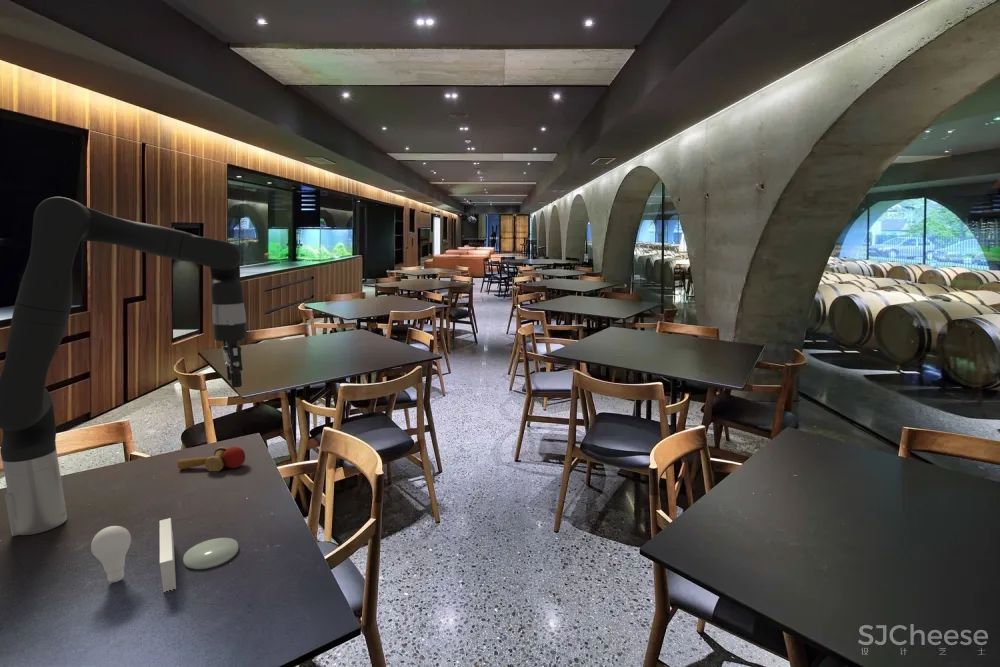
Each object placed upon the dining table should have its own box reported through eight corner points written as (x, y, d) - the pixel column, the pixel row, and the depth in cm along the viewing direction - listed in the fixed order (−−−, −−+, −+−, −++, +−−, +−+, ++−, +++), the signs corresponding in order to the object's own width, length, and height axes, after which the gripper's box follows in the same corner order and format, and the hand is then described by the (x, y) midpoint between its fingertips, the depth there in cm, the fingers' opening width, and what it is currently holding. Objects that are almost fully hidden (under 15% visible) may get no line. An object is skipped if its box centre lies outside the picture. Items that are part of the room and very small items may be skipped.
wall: (163, 592, 98) (159, 563, 97) (162, 546, 113) (159, 520, 112) (176, 589, 99) (172, 559, 98) (173, 543, 114) (170, 517, 113)
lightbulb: (120, 591, 98) (113, 536, 96) (88, 591, 98) (80, 536, 96) (143, 571, 104) (136, 519, 102) (112, 571, 104) (105, 519, 102)
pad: (184, 575, 103) (184, 571, 103) (182, 550, 111) (182, 547, 111) (241, 558, 108) (241, 555, 108) (235, 536, 116) (235, 533, 116)
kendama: (174, 480, 148) (240, 469, 149) (170, 458, 148) (236, 446, 149) (188, 473, 155) (251, 462, 157) (185, 452, 155) (247, 441, 157)
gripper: (210, 319, 138) (215, 379, 141) (216, 325, 127) (221, 391, 129) (241, 317, 142) (246, 375, 145) (250, 323, 131) (255, 387, 133)
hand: (234, 383), depth 137 cm, fingers open, 8 cm apart
